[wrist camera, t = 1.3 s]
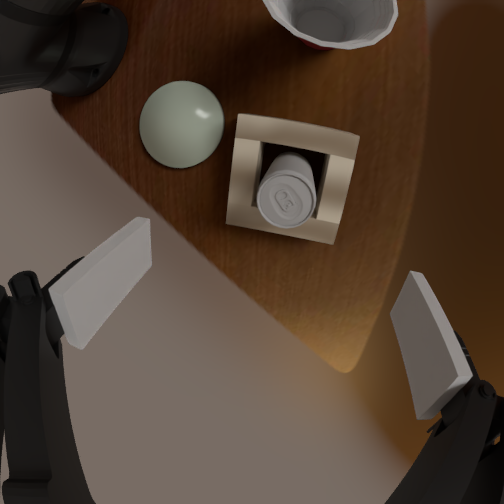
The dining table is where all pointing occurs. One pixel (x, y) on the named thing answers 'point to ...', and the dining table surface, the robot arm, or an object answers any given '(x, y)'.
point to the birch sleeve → (301, 136)
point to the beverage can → (287, 191)
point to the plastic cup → (335, 21)
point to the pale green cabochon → (182, 124)
